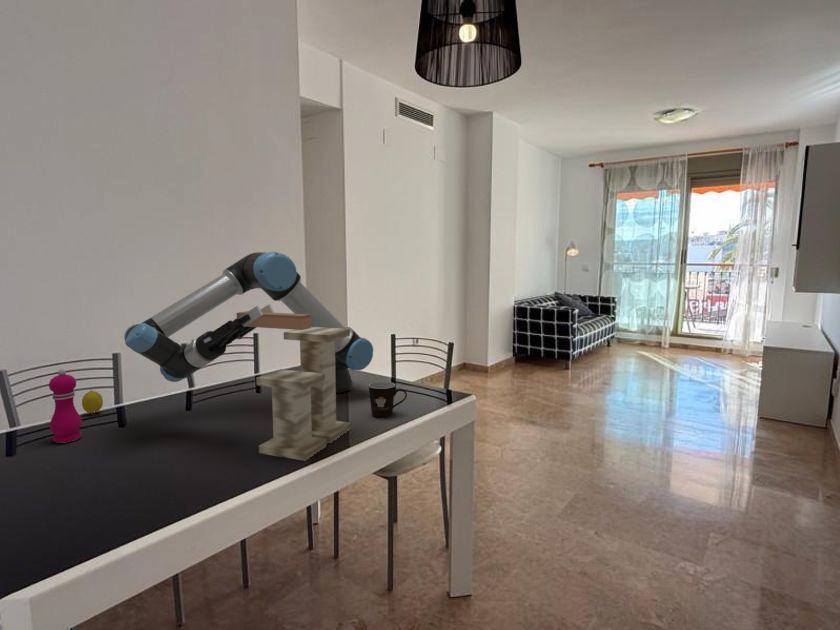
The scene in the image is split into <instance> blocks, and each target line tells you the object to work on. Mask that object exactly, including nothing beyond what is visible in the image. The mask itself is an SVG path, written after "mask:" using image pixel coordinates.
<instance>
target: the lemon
mask: <svg viewBox="0 0 840 630" xmlns="http://www.w3.org/2000/svg"><path fill="white" fill-rule="evenodd" d="M103 404H104V400H103V396H102V395H101V393H100V392H98V391H95V390H92V389H90V390H89V391H88V392H86V393H85V394H84V395H83V396H82V400H81V406H82V409H83V410H84V411H85V412H86V413H89V414H91V413H95V412H94V411H96V413H97V412H99V411H100V410H101V409H102V408H103ZM96 413H95V414H96Z"/></svg>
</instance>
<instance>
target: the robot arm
mask: <svg viewBox="0 0 840 630" xmlns="http://www.w3.org/2000/svg"><path fill="white" fill-rule="evenodd" d="M301 279H302V277H301V275H300V274H299V273H298V271H297V267H296V264H295V262H294V261H293V260H292V259H291V258H290V257H289V256H287V255H286V254H284V253H281V252H277V251H267V252H264V251H263V252H260V251H259V252H258V251H257V252H253V253H249V254H247V255H245V256H244V257H242V258H241V259H238V260H237V261H236V262H234V263H233V264H231V265H230V266H228V267H226V268H225V269H223V271H222V274H221V275H220V276H217V278H215V279H212V281H209V282H208V283H206V284H204V285H202V286H201V287H199V288H198V289H196V290H194V291H193V292H191V293H189V294H188V295H186V296H184V297H183V298H181V299H180V300H178V301H176V302H174V303H172V304H171V305H169V306H168V307H165V308H164V309H162V310H161V311H159V312H158V313H156V314H154V315H153V316H150V317H149V318H148V319H146V320H144V321H142V322H141V323H136V324H131V326H129V327H128V328H127V329H126V330H125V333H124V334H123V335H124V344H125V345H126V346H127V347H128V348H129V349H131V350H132V351H133V352H135V353H137V354H139V355H141V356H143V358H146V359H148V360H150V361H151V362H153V363H155V364H157V365H158V366H160V367H159V371H160V372H159V373H160V374H161V375H163V378H164V379H165V380H167V381H168V382H172V383H178V382H180V381H182V380H185V379H188V378H189V377H190V376H191V375H193V374H194V373H195V372H197V371H199V370H200V369H202V368H205V367H206V366H207V365H208V364H210V363H212V362H213V361H215V360H216V359H217V358H220V357H222V356H223V355H224V354H225V352H226V350H227V345H230V344H232V343H233V342H234V341H235V340H237V339H238V340H241V339H243V337H245V336H246V335H247V334H249V333H251V332H252V331H253V330H255V329H256V328H258V327H246V326H247V325H249V324H250V323H252V322H253V321H255V320H256V319H258V318H259V317H261V316H262V315H263V314H262V312H271V313H275V312H274V310H273V307H272V305H271V304H270V303H269V304H267V305H266V306H264V307H262V308H260V306H259V305H256V306H254V307H253V308H251V309H250V310H248V312H247V313H245V314H244V315H242V316H241V317H239V318H240V319H237V318H235V319H233V320H228V321H226V322H225V323H224V324H222V325H221V326H219V327H218V328H216V329H214V330H213V331H212V330H207V331H206V332H203V333H202V334H201V335H200V336H198V337H197V338H195V339H194V338H192V339H191V340H190V342H189V343H188V344H186V345H184V346H183V345H181V344H179V343H178V342H176V341H174V340H173V339H171V338H169V337H171V336H172V335H174V334H175V333H178V332H179V331H180V330H182V329H183V328H185V327H187V326H188V325H190V324H191V323H193V322H194V321H196V320H198V319H199V318H201V317H202V316H204V315H205V314H208V313H209V312H210V311H213V309H216V308H217V307H218V306H220V305H222V304H223V303H226V302H227V301H228V300H229V299H231V298H233V297H235V296H236V295H239V296H242V295H244V294H245V293H247V292H249V291H251V290H254V289H255V290H256V289H261V290H262V291H264V292H265V294H267V295H268V297H269V298H271V299H272V301H274V302H282V303H283V304H284V305H285V306H286V307H287V308H288V309H289V310H291V312H292V314H311V327H324V328H341V329H350V336H348V337H344V338H341V339H338V340H335V379H336V393H338V394H342V393H341V392H344V393H346V392H345V391H348V390H350V389H352V388H353V387H354V384H353V380H352V377H351V374H350V371H349V370H351V371H362V370H364V369H366V368H367V367H368V366H369V365H370V363H371V362H372V360H373V357H374V346H373V343H371V341H370V340H368V339H367V338H365V337H361V336H360V335H358V334H357V332H356V331H355V330H354V329H353V328H352V327H350V326H344V325H343V324H342V323H341V322H340V321H339V320H338V319H337V318H336V317H335V316H334V315H333V314H332V313H331V312H330V311H329V310H328V309H327V308H326V307H325V305H323V303H321V302H320V301H319V300H318V299H317V298H316V296H314V295H313V294H312V293H311V292H310V290H309V289H308V288H307V287H306V286H304V284H303V283H302V282H301V281H302V280H301ZM242 325H243V326H242ZM353 389H354V388H353ZM353 389H352V390H353ZM350 391H351V390H350ZM348 392H349V391H348Z"/></svg>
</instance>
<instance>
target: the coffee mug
mask: <svg viewBox="0 0 840 630" xmlns="http://www.w3.org/2000/svg"><path fill="white" fill-rule="evenodd" d="M398 392H403V393H404V395H405V396H404V398H402V400H400V401H398V402H397V403H395V404H394V401H395V396H396V395H397V393H398ZM368 394H369V401H370V410H371V417H373V418H374V417H375V419H379V418H384V419H388V418H387V417H389V418H391V417H392V416H393V410H394V408H395V407H397V406H398V405H400V404H402V403H403V402H404V401H405V400H406V399H407V398H408V397H407V396H408V393H407V391H406V390H405V389H403V388H397V389H396V384H395V383H394V382H390V381H375V382H371V383H369V384H368ZM391 415H392V416H391ZM390 416H391V417H390Z"/></svg>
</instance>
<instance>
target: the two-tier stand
mask: <svg viewBox="0 0 840 630" xmlns="http://www.w3.org/2000/svg"><path fill="white" fill-rule="evenodd" d="M348 336H350V329H341V328H324V327H311V328H309V329H305V330H293V329H290V330H287V331H283V340H287V341H288V340H289V341H299V352H300V354H299V357H300V370H290V369H281V368H280V369H277V370H274V371H271V372H268V373H266V374H264V375H261V376H257V377H256V378H255V380H256V383H255V384H256V387H257V386H259V387H268V388H271V401H272V402H271V403H272V404H271V405H272V406H271V407H272V408H271V409H272V429H273V431H272V432H273V434H272V436H273V437H272V438H270V439H269V440H266V441H265V442H263V443H261V444H260V445H258V454H260V455H261V454H262V455H267V456H274V457H280V458H286V459H290V460H291V459H292V460H297V461H302V462H303V461H304V462H306V461H308V460H309V459H311V458H312V457H313V456H315V455H316V454H318V453H319V452H321V451H320V450H324V449H325V448H326V447H327V444H328V443H331V444H332V443H334V442H335V441H336V440H338V439H339V438H341V437H342V436H343V434H344V433H345V434H347V431H348V432H349V431H351V430H352V422H347V421H341V420H337V399H336V398H337V394H336V379H335V340H338V339H341V338H344V337H348ZM350 429H351V430H350ZM345 434H344V435H345ZM341 435H342V436H341ZM340 436H341V437H340ZM337 438H338V439H337ZM334 440H335V441H334ZM333 441H334V442H333ZM317 452H318V453H317ZM314 454H315V455H314ZM310 457H311V458H310Z"/></svg>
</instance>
